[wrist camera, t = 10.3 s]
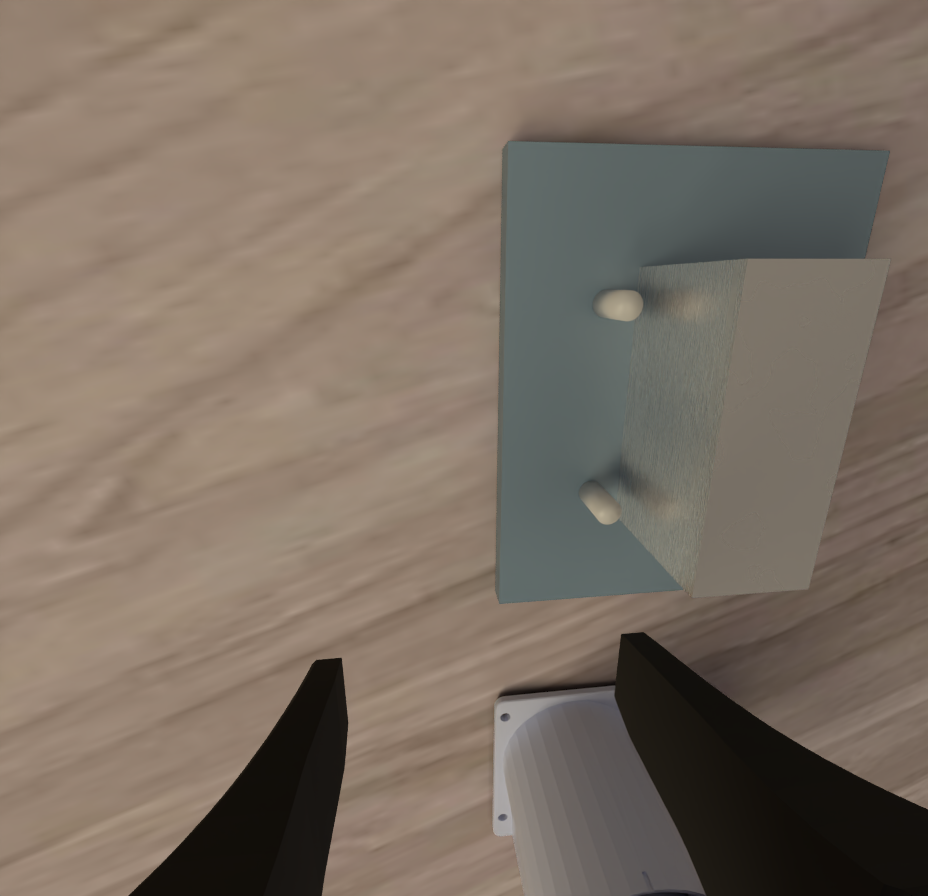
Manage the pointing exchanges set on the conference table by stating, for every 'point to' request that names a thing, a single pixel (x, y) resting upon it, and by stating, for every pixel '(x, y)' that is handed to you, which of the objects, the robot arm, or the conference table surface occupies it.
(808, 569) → the beige rectangular block
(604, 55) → the conference table surface
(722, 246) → the tray
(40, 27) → the conference table surface
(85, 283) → the conference table surface
